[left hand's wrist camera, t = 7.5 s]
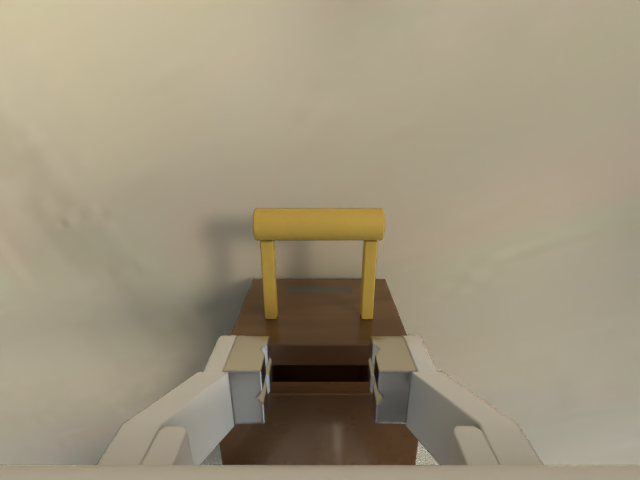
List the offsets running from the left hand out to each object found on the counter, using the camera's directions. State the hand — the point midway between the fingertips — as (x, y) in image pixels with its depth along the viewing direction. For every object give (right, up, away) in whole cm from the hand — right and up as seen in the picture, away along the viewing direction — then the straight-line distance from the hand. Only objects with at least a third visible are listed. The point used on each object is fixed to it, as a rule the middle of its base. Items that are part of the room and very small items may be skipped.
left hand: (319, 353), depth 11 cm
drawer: (0, -3, +13) cm, 13 cm away
